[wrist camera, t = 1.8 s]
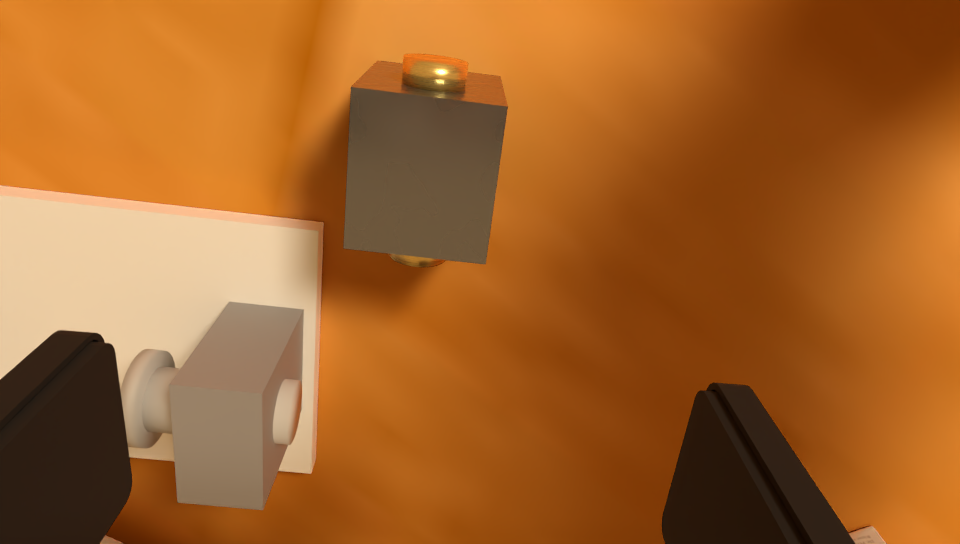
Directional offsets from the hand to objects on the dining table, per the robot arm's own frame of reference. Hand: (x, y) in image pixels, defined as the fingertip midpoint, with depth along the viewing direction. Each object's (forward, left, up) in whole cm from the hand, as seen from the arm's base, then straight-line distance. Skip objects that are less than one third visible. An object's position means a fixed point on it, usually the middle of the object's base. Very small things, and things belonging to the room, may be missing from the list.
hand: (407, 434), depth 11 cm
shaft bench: (+9, -15, -17) cm, 24 cm away
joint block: (-1, -1, -17) cm, 17 cm away
